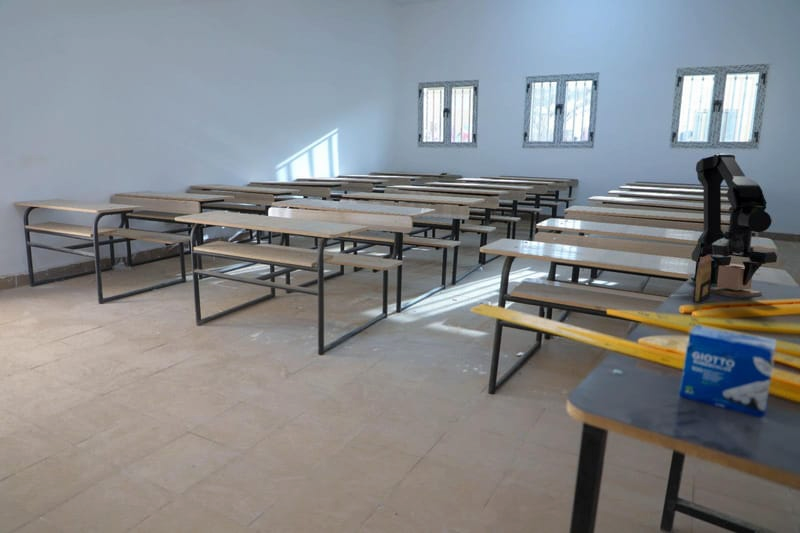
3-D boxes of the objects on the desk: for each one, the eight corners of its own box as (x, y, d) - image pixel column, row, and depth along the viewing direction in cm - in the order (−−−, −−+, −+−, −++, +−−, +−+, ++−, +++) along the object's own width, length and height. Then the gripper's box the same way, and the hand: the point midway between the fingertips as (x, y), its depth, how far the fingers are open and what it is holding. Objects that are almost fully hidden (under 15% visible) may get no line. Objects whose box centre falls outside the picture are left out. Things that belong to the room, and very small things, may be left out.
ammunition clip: (700, 302, 145) (705, 258, 143) (692, 301, 146) (697, 257, 144) (709, 296, 153) (714, 253, 151) (702, 295, 154) (706, 253, 152)
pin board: (705, 291, 160) (706, 274, 159) (728, 288, 164) (730, 272, 163) (737, 298, 151) (740, 280, 150) (761, 295, 155) (763, 278, 154)
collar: (716, 286, 158) (719, 265, 157) (730, 284, 161) (733, 264, 160) (736, 290, 153) (739, 269, 152) (750, 288, 155) (753, 267, 154)
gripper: (691, 226, 159) (685, 278, 162) (754, 233, 142) (747, 291, 145) (717, 225, 164) (711, 276, 166) (781, 231, 147) (774, 288, 150)
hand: (734, 282), depth 157 cm, fingers closed on collar, 6 cm apart
